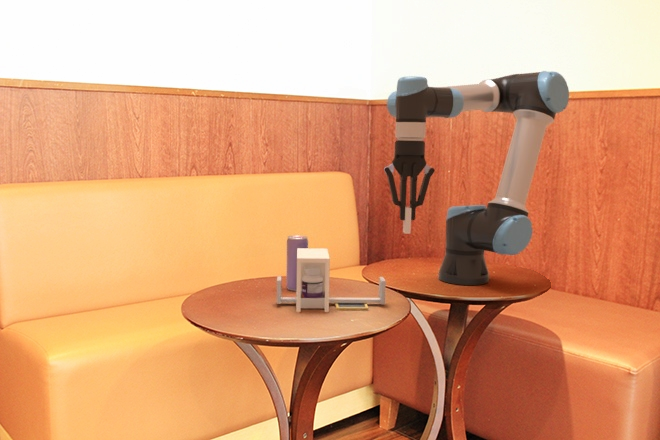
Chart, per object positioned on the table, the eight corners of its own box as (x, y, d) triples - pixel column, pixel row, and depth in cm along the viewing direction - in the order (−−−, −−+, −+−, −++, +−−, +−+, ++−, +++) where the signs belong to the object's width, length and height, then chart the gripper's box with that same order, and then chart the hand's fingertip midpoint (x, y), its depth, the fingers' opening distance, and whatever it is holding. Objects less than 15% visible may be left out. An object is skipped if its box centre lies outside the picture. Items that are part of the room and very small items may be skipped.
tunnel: (326, 298, 173) (327, 248, 171) (328, 312, 159) (329, 258, 157) (296, 297, 172) (297, 248, 170) (296, 312, 158) (296, 258, 157)
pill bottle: (301, 302, 168) (301, 265, 167) (321, 302, 168) (322, 265, 167) (302, 307, 163) (302, 270, 161) (323, 307, 163) (323, 270, 162)
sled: (381, 300, 170) (382, 275, 170) (385, 308, 162) (386, 282, 161) (277, 299, 169) (277, 274, 168) (276, 308, 161) (276, 281, 160)
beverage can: (304, 292, 179) (305, 238, 177) (284, 290, 180) (284, 237, 178) (309, 287, 184) (310, 235, 182) (289, 286, 186) (290, 234, 184)
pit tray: (364, 300, 171) (364, 297, 171) (368, 310, 161) (368, 307, 161) (334, 299, 171) (334, 297, 171) (336, 310, 161) (336, 307, 161)
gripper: (432, 140, 165) (429, 231, 168) (382, 139, 164) (379, 230, 167) (439, 140, 158) (435, 235, 161) (386, 139, 157) (383, 234, 160)
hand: (406, 232), depth 164 cm, fingers closed
